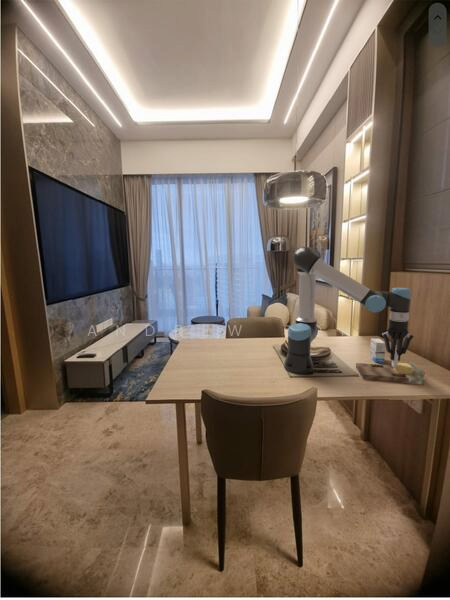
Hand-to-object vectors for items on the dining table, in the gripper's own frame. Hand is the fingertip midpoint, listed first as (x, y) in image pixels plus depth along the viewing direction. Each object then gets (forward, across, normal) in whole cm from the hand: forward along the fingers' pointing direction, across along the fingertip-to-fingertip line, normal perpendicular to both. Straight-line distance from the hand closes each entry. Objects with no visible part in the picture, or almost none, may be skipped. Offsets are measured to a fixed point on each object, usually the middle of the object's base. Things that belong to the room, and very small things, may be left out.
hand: (394, 366), depth 121 cm
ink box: (+5, -1, +20) cm, 21 cm away
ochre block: (+2, +4, 0) cm, 4 cm away
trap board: (+5, -3, 0) cm, 6 cm away
